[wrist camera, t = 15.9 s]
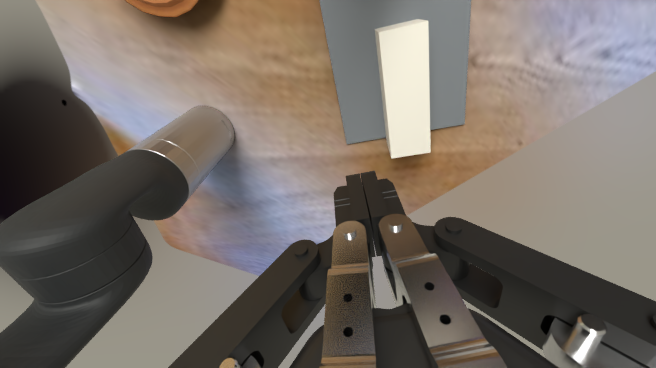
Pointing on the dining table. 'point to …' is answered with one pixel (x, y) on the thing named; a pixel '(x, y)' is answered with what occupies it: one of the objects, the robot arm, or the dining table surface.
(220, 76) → the dining table surface
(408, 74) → the tall cream block
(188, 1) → the pie
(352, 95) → the mat
